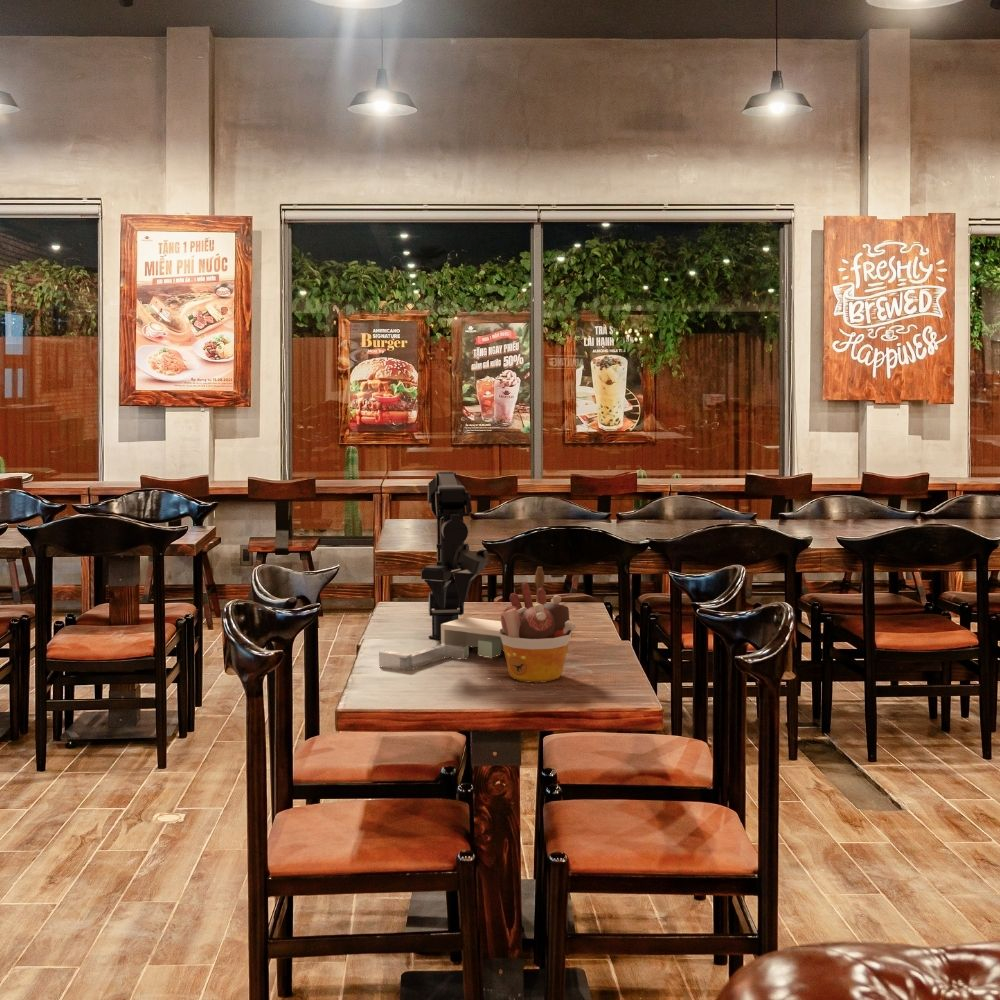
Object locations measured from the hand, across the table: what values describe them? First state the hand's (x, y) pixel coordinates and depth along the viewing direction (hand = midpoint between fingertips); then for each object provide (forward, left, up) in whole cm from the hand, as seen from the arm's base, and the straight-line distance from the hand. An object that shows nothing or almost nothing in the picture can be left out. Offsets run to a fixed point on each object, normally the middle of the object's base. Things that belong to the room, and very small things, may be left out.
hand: (452, 605), depth 272 cm
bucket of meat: (+25, -4, -14) cm, 28 cm away
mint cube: (+5, +9, -13) cm, 17 cm away
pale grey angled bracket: (-4, -5, -13) cm, 15 cm away
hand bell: (-4, +48, -14) cm, 50 cm away
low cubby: (+3, +10, -13) cm, 17 cm away
